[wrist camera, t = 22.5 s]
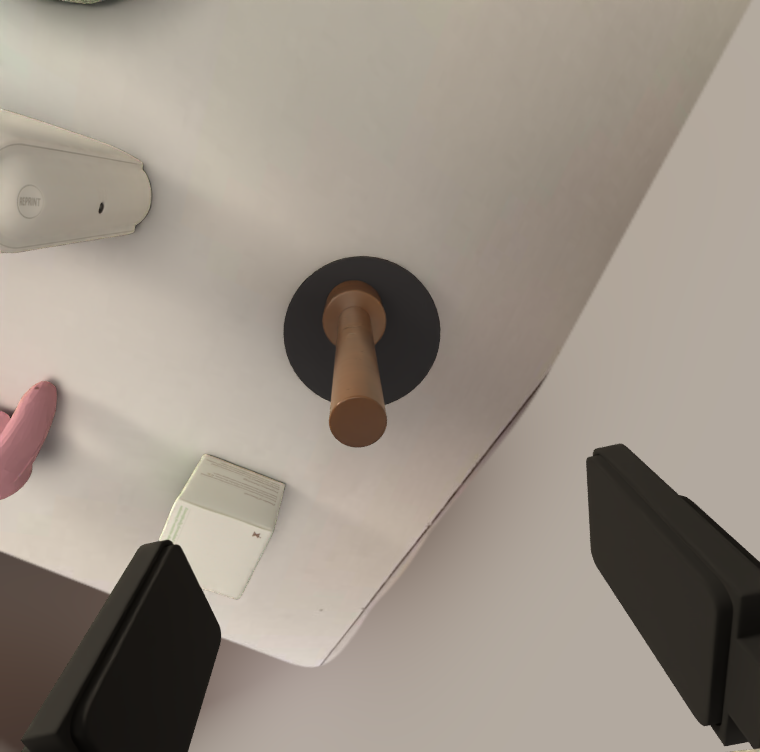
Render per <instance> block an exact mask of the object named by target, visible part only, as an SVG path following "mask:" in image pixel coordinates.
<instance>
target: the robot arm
mask: <svg viewBox="0 0 760 752" xmlns="http://www.w3.org/2000/svg"><path fill="white" fill-rule="evenodd" d="M586 465H587V466H586V467H587V486H588V503H589V504H588V505H589V524H590V543H591V553H592V557H593V560H594V562H595V564H596V566H597V568H598V569H599V571H600V572H601V574H602V575H603V577H604V579H605V580H606V582H607V583H608V585H609V586H610V588H611V589H612V591H613V592H614V594H615V596H616V597H617V599H618V600H619V602H620V603H621V605H622V606H623V608H624V609H625V611H626V612H627V614H628V615H629V617H630V618H631V620H632V621H633V623H634V625H635V626H636V627H637V629H638V631H639V632H640V634H641V635H642V637H643V638H644V640H645V641H646V643H647V645H648V646H649V647H650V649H651V651H652V652H653V654H654V655H655V657H656V658H657V660H658V661H659V663H660V664H661V666H662V667H663V669H664V671H665V672H666V674H667V675H668V677H669V678H670V680H671V681H672V683H673V684H674V686H675V687H676V689H677V691H678V692H679V693H680V695H681V697H682V698H683V700H684V701H685V703H686V704H687V706H688V707H689V709H690V710H691V712H692V713H693V715H694V716H695V718H696V719H697V720H698V722H699V723H700V724H702V725H703V726H708V725H711V727H712V728H713V730H714V731H715V733H716V734H717V736H718V737H719V739H720V740H721V741H722V743H723V744H724V746H729V745H734V744H740V743H745V742H749V743H750V744H751V746H752V747H753V749H751V750H741V751H732V752H760V562H759V561H758V560H757V559H756V558H754V556H752V555H751V554H750V553H749V552H748V551H747V550H746V549H745V548H743V547H742V546H741V545H740V544H739V543H738V542H737V541H736V540H735V539H734V538H732V537H731V536H730V535H729V534H728V533H727V532H726V531H725V530H724V529H723V528H721V527H720V526H719V525H718V524H717V523H716V522H715V521H714V520H713V519H711V518H710V517H709V516H708V515H707V514H706V513H705V512H704V511H703V510H701V509H700V508H699V507H698V506H697V505H696V504H695V503H694V502H692V501H691V500H690V499H688V498H687V497H684V496H681V495H678V494H677V493H676V492H675V491H674V490H673V489H672V488H671V487H670V486H669V485H667V484H666V483H665V482H664V481H663V480H662V479H661V478H660V477H659V476H658V475H657V474H656V473H654V472H653V471H652V470H651V469H650V468H649V467H648V466H647V465H646V464H645V463H644V462H643V461H641V460H640V459H639V458H638V457H637V456H636V455H635V454H634V453H633V452H632V451H631V450H629V449H628V448H627V447H626V446H625V445H623V444H617V445H611V446H607V447H602V448H597V449H595V450H594V452H593V456H592V457H588V458H587V461H586ZM220 642H221V630H220V626H219V624H218V622H217V620H216V618H215V616H214V614H213V611H212V609H211V607H210V605H209V603H208V601H207V599H206V597H205V595H204V593H203V591H202V589H201V587H200V585H199V583H198V581H197V578H196V576H195V574H194V572H193V570H192V568H191V566H190V564H189V562H188V560H187V558H186V556H185V554H184V552H183V550H182V548H181V546H180V545H178V544H175V545H174V544H173V542H172V541H170V540H163V541H158V542H153V543H149V544H144V545H142V546H140V548H139V549H138V550H137V552H136V553H135V555H134V557H133V558H132V560H131V562H130V563H129V565H128V566H127V568H126V570H125V571H124V573H123V575H122V576H121V578H120V579H119V581H118V583H117V584H116V586H115V588H114V589H113V591H112V592H111V594H110V596H109V598H108V599H107V601H106V602H105V604H104V606H103V607H102V609H101V610H100V612H99V614H98V615H97V617H96V619H95V620H94V622H93V623H92V625H91V627H90V628H89V630H88V632H87V633H86V635H85V636H84V638H83V640H82V641H81V643H80V645H79V646H78V648H77V650H76V651H75V653H74V655H73V656H72V658H71V659H70V661H69V663H68V664H67V666H66V667H65V669H64V671H63V673H62V674H61V676H60V677H59V679H58V681H57V682H56V684H55V685H54V687H53V689H52V690H51V692H50V694H49V695H48V697H47V699H46V700H45V702H44V703H43V705H42V707H41V708H40V710H39V711H38V713H37V715H36V716H35V718H34V719H33V721H32V723H31V724H30V726H29V728H28V729H27V731H26V732H25V734H24V736H23V737H22V739H21V741H22V742H23V744H24V745H25V747H24V748H23V750H22V752H188V749H189V746H190V743H191V739H192V736H193V733H194V729H195V726H196V722H197V719H198V716H199V713H200V709H201V706H202V703H203V699H204V696H205V693H206V689H207V686H208V683H209V679H210V676H211V673H212V669H213V666H214V662H215V659H216V656H217V652H218V649H219V646H220Z"/></svg>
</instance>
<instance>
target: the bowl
mask: <svg viewBox="0 0 760 752" xmlns="http://www.w3.org/2000/svg"><path fill="white" fill-rule="evenodd" d="M61 1H68V2H75V3H82V4H87V3H88V4H91V3H96V2H100V1H104V0H61Z"/></svg>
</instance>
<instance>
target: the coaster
mask: <svg viewBox="0 0 760 752" xmlns="http://www.w3.org/2000/svg"><path fill="white" fill-rule="evenodd" d="M350 280H358V281H362V282H365V283H367V284H369V285H370V286H372V287H373V288H374V289H375V290H376V291H377V292H378V294H379V296H380V298H381V301H382V304H383V307H384V311H385V314H386V328H385V331H384V334H383V336H382V337H381V339H380V340H379V341H378V342H377V343H376V344H375V351H376V356H377V362H378V368H379V374H380V380H381V386H382V392H383V398H384V404H389V403H391V402H393V401H396V400H398V399H400V398H401V397H403V396H405V395H406V394H408V393H409V392H410V391H412V390H413V389H414V388H415V387H416V386H417V385H418V384H420V383H421V381H422V380H423V379H424V378H425V376H426V375H427V374H428V372H429V370H430V369H431V367H432V365H433V363H434V361H435V358H436V355H437V352H438V348H439V342H440V322H439V317H438V313H437V309H436V307H435V304H434V302H433V300H432V298H431V296H430V294H429V292H428V291H427V290H426V288H425V287H424V286H423V284H422V283H421V282H420V281H419V280H418V279H417V278H416V277H415V276H414V275H413V274H411V273H410V272H409V271H407V270H406V269H404V268H403V267H401V266H399V265H397V264H395V263H393V262H390V261H388V260H384V259H380V258H376V257H367V256H359V257H349V258H343V259H340V260H337V261H334V262H331V263H329V264H327V265H325V266H323V267H322V268H320V269H318V270H317V271H315V272H314V273H313V274H312V275H310V276H309V277H308V278H307V279H306V280H305V281H304V282H303V283H302V285H301V286H300V287H299V288H298V290H297V291H296V293H295V294H294V296H293V298H292V300H291V302H290V304H289V307H288V310H287V313H286V317H285V322H284V344H285V349H286V353H287V356H288V359H289V361H290V364H291V366H292V367H293V369H294V371H295V373H296V374H297V375H298V377H299V378H300V380H301V381H302V382H303V383H304V384H305V385H306V386H307V387H308V388H309V389H311V390H312V391H313V392H314V393H316V394H317V395H319V396H320V397H322V398H324V399H326V400H328V401H330V402H331V395H332V384H333V374H334V363H335V352H336V346H335V345H334V344H333V343H332V342H331V341H330V340H329V339H328V337H327V336H326V334H325V332H324V329H323V322H322V319H323V313H324V308H325V304H326V300H327V297H328V295H329V293H330V292H331V291H332V290H333V289H334V288H335V287H336V286H337V285H339V284H340V283H342V282H345V281H350Z"/></svg>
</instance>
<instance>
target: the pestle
mask: <svg viewBox="0 0 760 752" xmlns="http://www.w3.org/2000/svg"><path fill="white" fill-rule="evenodd" d="M322 322H323V329H324V332H325V334H326V336H327V337H328V339H329V340H330V341H331V342H332V343H333V344H334V345H335V346H336V352H335V363H334V374H333V384H332V395H331V405H330V416H329V426H330V430H331V432H332V434H333V435H334V437H335V438H336V439H337V440H338V441H340V442H341V443H343V444H345V445H347V446H350V447H365V446H368V445H371V444H373V443H374V442H376V441H377V440H378V439H379V438H380V437H381V436H382V435H383V433H384V431H385V429H386V426H387V416H386V410H385V404H384V398H383V392H382V386H381V380H380V374H379V368H378V362H377V356H376V351H375V344H376V343H377V342H378V341H379V340H380V339H381V337H382V336H383V334H384V331H385V328H386V314H385V311H384V307H383V304H382V301H381V298H380V296H379V294H378V292H377V291H376V290H375V289H374V288H373V287H372V286H370V285H369V284H367V283H365V282H362V281H358V280H350V281H345V282H342V283H340V284H339V285H337V286H336V287H335V288H334V289H333V290H332V291H331V292H330V293H329V295H328V297H327V300H326V304H325V308H324V313H323V319H322Z"/></svg>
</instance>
